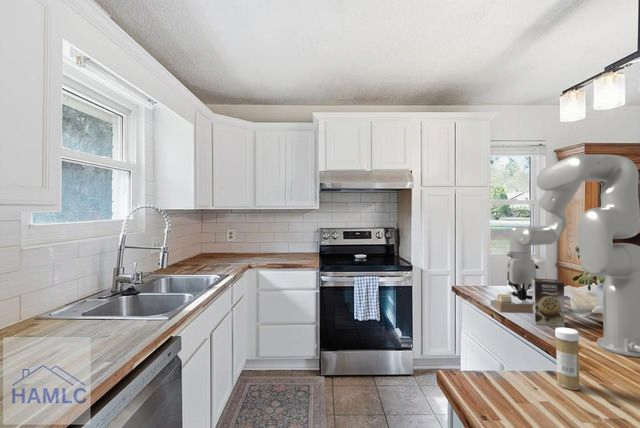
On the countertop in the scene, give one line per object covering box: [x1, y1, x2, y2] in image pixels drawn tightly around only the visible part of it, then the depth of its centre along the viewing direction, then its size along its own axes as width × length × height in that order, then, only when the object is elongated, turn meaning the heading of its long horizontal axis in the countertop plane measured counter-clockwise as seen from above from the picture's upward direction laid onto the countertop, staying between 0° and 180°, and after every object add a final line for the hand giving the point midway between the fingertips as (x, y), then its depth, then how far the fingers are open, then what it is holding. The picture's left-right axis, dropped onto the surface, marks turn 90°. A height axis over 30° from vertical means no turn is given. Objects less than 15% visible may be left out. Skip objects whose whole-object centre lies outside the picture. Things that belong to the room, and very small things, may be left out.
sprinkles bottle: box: [554, 326, 581, 391], centre depth 80 cm, size 5×5×14 cm
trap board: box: [490, 299, 532, 314], centre depth 141 cm, size 11×15×4 cm
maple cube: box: [496, 293, 512, 304], centre depth 141 cm, size 4×4×4 cm
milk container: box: [506, 256, 547, 299], centre depth 163 cm, size 17×17×18 cm
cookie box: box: [531, 278, 565, 328], centre depth 123 cm, size 9×6×16 cm
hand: (522, 299), depth 139 cm, fingers closed
